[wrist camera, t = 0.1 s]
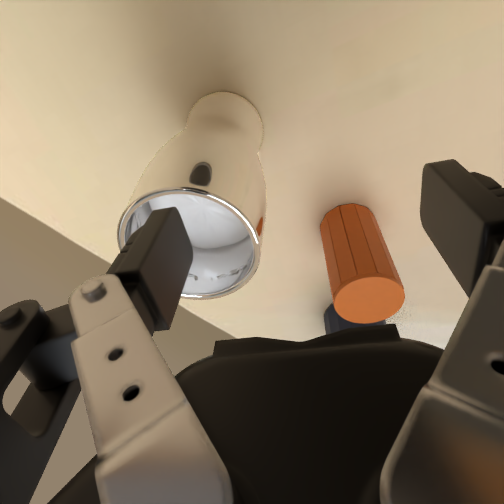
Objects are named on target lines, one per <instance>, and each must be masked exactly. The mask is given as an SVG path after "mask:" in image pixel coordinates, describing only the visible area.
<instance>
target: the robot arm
mask: <svg viewBox="0 0 504 504" xmlns="http://www.w3.org/2000/svg"><path fill="white" fill-rule="evenodd" d="M420 217H421V222H422V226H423V228H424V230H425V231H426V233H427V235H428V236H429V238H430V239H431V241H432V242H433V244H434V245H435V247H436V248H437V250H438V251H439V253H440V254H441V256H442V258H443V259H444V261H445V262H446V264H447V265H448V267H449V268H450V270H451V271H452V273H453V274H454V276H455V277H456V279H457V281H458V282H459V284H460V285H461V287H462V288H463V290H464V291H465V293H466V294H467V296H468V297H469V300H468V302H467V304H466V306H465V308H464V311H463V313H462V315H461V317H460V319H459V321H458V323H457V325H456V327H455V329H454V331H453V333H452V335H451V337H450V340H449V342H448V344H447V346H446V348H445V350H443V349H441V348H438V347H436V346H433V345H430V344H427V343H424V342H420V341H416V340H411V339H405V338H400V336H399V333H398V330H397V327H396V325H395V324H386V325H375V326H365V327H355V328H347V329H343V330H340V331H337V332H334V333H331V334H327V335H324V336H321V337H318V338H314V339H311V340H308V341H304V342H295V341H286V340H278V339H270V338H261V337H251V338H241V339H231V340H221V341H216V342H215V346H214V352H213V355H211V356H208V357H206V358H203V359H201V360H199V361H197V362H196V363H193V364H191V365H190V366H188V367H187V368H185V369H184V370H182V371H181V372H180V373H178V374H177V375H176V376H175V377H174V375H173V374H172V372H171V370H170V368H169V367H168V365H167V363H166V361H165V359H164V358H163V356H162V354H161V352H160V351H159V349H158V347H157V345H156V344H155V342H154V340H153V338H152V336H153V333H154V331H162V330H169V329H170V326H171V323H172V320H173V317H174V314H175V312H176V309H177V305H178V303H179V300H180V297H181V294H182V291H183V288H184V285H185V282H186V279H187V276H188V273H189V270H190V267H191V264H192V261H193V248H192V244H191V242H190V239H189V236H188V234H187V231H186V228H185V226H184V223H183V221H182V218H181V215H180V213H179V211H178V209H177V208H176V207H169V208H163V209H157V210H153V211H152V213H151V214H150V216H149V217H148V219H147V221H146V222H145V224H144V225H143V226H141V227H140V228H139V229H138V230H136V231H135V232H134V233H133V234H132V235H131V236H130V237H129V239H128V240H127V242H126V243H125V246H124V247H123V248H122V250H121V251H120V254H118V256H117V257H116V259H115V260H114V262H113V264H112V265H111V267H110V268H109V270H108V271H107V273H106V274H104V275H100V276H96V277H94V278H91V279H89V280H87V281H86V282H84V283H82V284H81V285H80V286H78V287H77V288H76V289H75V290H74V291H73V292H72V294H71V295H70V297H69V300H68V304H66V305H63V306H60V307H58V308H55V309H52V310H49V311H46V312H45V311H44V309H43V308H42V307H41V306H40V304H39V303H38V302H37V301H36V300H24V301H21V302H18V303H15V304H13V305H11V306H9V307H7V308H6V309H4V310H2V311H1V312H0V504H29V502H30V500H31V498H32V496H33V494H34V491H35V489H36V487H37V485H38V483H39V480H40V478H41V476H42V474H43V472H44V470H45V467H46V465H47V463H48V461H49V459H50V456H51V454H52V452H53V450H54V448H55V446H56V443H57V441H58V439H59V437H60V435H61V433H62V430H63V428H64V426H65V424H66V422H67V419H68V417H69V415H70V413H71V411H72V408H73V406H74V404H75V402H76V400H77V397H78V395H79V393H80V391H81V389H82V393H83V397H84V402H85V405H86V410H87V413H88V418H89V422H90V426H91V430H92V434H93V438H94V442H95V446H96V450H97V454H96V455H95V456H94V457H93V458H92V459H91V460H90V461H89V463H87V464H86V465H85V466H84V467H83V468H82V469H81V470H80V471H79V472H78V473H77V474H76V475H75V476H74V477H73V478H72V479H71V480H70V481H69V482H68V483H67V485H65V486H64V487H63V488H62V490H60V491H59V492H58V493H57V494H56V495H55V496H54V497H53V498H52V499H51V500H50V501H49V502H48V503H47V504H504V188H502V186H501V185H499V184H498V183H497V182H496V181H494V180H493V179H492V178H490V177H487V176H485V175H482V174H479V173H476V172H471V173H469V172H468V171H467V170H466V169H465V168H464V167H463V166H461V165H460V164H459V163H458V162H457V161H456V160H454V159H451V160H445V161H439V162H433V163H428V164H425V166H424V168H423V174H422V189H421V204H420ZM18 370H20V371H21V372H22V373H23V374H24V375H25V377H27V379H28V380H29V381H30V382H31V383H30V385H29V386H28V388H27V390H26V391H25V393H24V395H23V396H22V398H21V400H20V401H19V403H18V405H17V406H16V408H15V410H14V411H13V413H12V415H11V416H10V415H8V414H7V413H6V412H5V410H4V408H3V404H2V399H3V395H4V392H5V390H6V388H7V387H8V385H9V384H10V382H11V381H12V379H13V378H14V376H15V375H16V373H17V371H18Z"/></svg>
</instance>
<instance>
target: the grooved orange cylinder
mask: <svg viewBox="0 0 504 504" xmlns="http://www.w3.org/2000/svg"><path fill="white" fill-rule="evenodd" d="M320 229H321V237H322V242H323V248H324V254H325V259H326V265H327V271H328V276H329V282H330V287H331V293H332V299H333V304H334V308H335V310H336V312H337V313H338V314H339V315H340V316H341V317H342V318H344V319H345V320H348V321H350V322H354V323H364V324H365V323H374V322H378V321H382V320H384V319H387V318H389V317H390V316H392V315H394V314H395V313H396V312H397V311H398V310H399V309H400V308H401V306H402V305H403V303H404V299H405V294H404V290H403V289H404V288H403V285H402V282H401V280H400V278H399V275H398V273H397V270H396V268H395V265H394V263H393V260H392V258H391V255H390V253H389V251H388V248H387V246H386V243H385V241H384V238H383V236H382V233H381V231H380V228H379V226H378V224H377V221H376V219H375V216H374V215H373V214H372V213H371V211H370V210H369V209H368V208H367V207H364V206H361V205H358V204H346V205H340V206H337V207H336V208H334V209H333V210H331V211H330V212H328V213H327V214H326V215H325V217H324V219H323V221H322V223H321V224H320Z"/></svg>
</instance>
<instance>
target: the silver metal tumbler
mask: <svg viewBox="0 0 504 504" xmlns="http://www.w3.org/2000/svg"><path fill="white" fill-rule="evenodd" d="M262 141H263V125H262V121H261V118H260V116H259V114H258V112H257V111H256V109H255V108H254V106H253V105H252V104H251V103H250V102H249V101H247V100H246V99H245V98H243V97H241V96H239V95H237V94H234V93H231V92H214V93H211V94H208V95H206V96H204V97H202V98H201V99H200V100H198V101H197V102H196V103H195V104H194V106H193V107H192V109H191V111H190V113H189V115H188V119H187V124H186V128H185V129H184V130H182V131H181V132H179V133H178V134H177V135H175V136H174V137H173V138H171V139H170V140H169V141H168V142H167V143H166V144H165V145H164V146H162V147H161V148H160V149H159V150H158V152H157V153H156V154H155V156H154V157H153V158H152V160H151V161H150V162H149V164H148V165H147V167H146V168H145V170H144V172H143V174H142V175H141V177H140V179H139V181H138V183H137V185H136V187H135V189H134V191H133V193H132V196H131V198H130V200H129V203H128V205H127V207H126V209H125V211H124V212H123V214H122V216H121V218H120V220H119V224H118V229H117V241H118V246H119V249H120V251H121V250H122V248H123V247H124V246H125V243H126V242H127V240H128V239H129V237H130V236H131V235H132V234H133V233H134V232H135V231H136V230H138V229H139V228H140V227H141V226H143V225H144V224H145V222H146V221H147V219H148V217H149V216H150V214H151V213H152V211H153V210H157V209H163V208H169V207H176V208H177V209H178V211H179V213H180V215H181V218H182V221H183V223H184V226H185V228H186V231H187V234H188V236H189V239H190V242H191V244H192V248H193V261H192V264H191V267H190V270H189V273H188V276H187V279H186V282H185V285H184V288H183V291H182V294H181V297H180V298H185V299H193V300H206V299H214V298H219V297H223V296H226V295H229V294H231V293H233V292H235V291H237V290H238V289H240V288H241V287H243V286H244V285H245V284H246V283H247V282H248V281H249V280H250V279H251V278H252V277H253V275H254V274H255V272H256V270H257V268H258V265H259V262H260V256H261V245H262V240H263V234H264V228H265V221H266V210H267V191H266V182H265V178H264V173H263V169H262V165H261V162H260V159H259V156H258V152H259V150H260V147H261V144H262Z"/></svg>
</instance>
